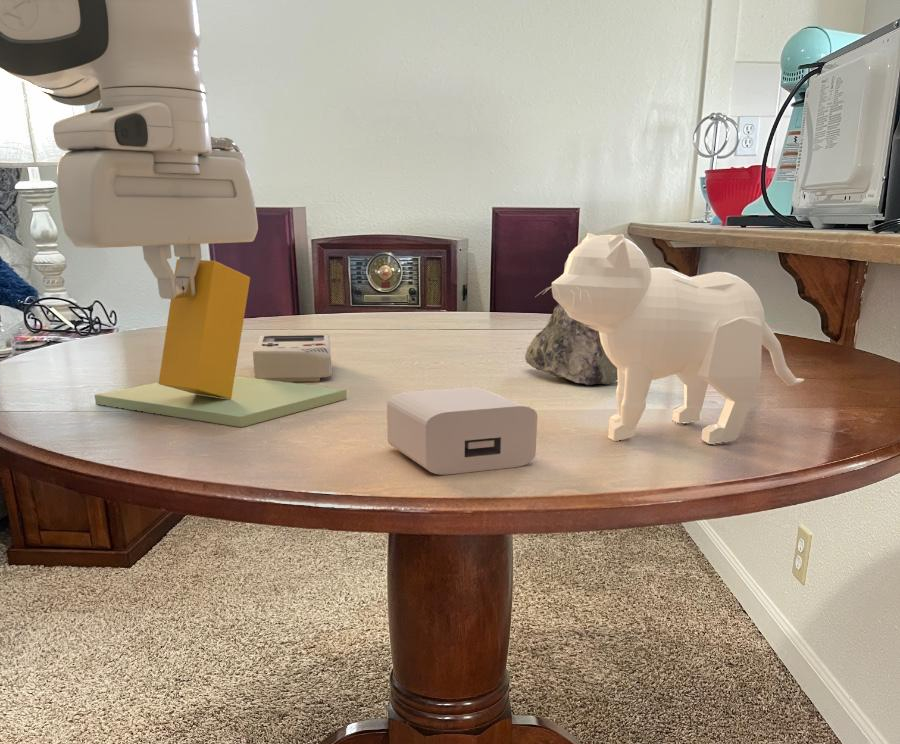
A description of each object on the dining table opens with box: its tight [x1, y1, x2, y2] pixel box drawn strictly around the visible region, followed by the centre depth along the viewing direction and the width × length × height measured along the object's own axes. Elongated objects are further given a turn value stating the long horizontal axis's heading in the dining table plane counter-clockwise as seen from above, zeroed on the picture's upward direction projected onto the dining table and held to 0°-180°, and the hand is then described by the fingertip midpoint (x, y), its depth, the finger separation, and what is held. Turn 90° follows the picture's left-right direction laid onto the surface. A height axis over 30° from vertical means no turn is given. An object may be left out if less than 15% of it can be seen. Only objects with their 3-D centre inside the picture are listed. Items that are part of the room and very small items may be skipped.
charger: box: [386, 386, 538, 476], centre depth 74 cm, size 5×9×15 cm
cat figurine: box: [535, 232, 805, 443], centre depth 77 cm, size 25×10×17 cm, turn 102°
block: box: [158, 258, 251, 399], centre depth 87 cm, size 5×5×12 cm
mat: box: [94, 375, 348, 428], centre depth 92 cm, size 20×16×1 cm
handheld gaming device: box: [252, 333, 333, 383], centre depth 109 cm, size 9×15×4 cm, turn 8°
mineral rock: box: [524, 303, 618, 386], centre depth 105 cm, size 13×11×10 cm
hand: (178, 297), depth 83 cm, fingers closed
